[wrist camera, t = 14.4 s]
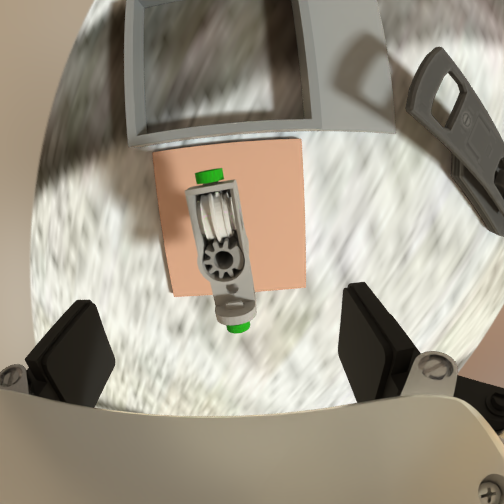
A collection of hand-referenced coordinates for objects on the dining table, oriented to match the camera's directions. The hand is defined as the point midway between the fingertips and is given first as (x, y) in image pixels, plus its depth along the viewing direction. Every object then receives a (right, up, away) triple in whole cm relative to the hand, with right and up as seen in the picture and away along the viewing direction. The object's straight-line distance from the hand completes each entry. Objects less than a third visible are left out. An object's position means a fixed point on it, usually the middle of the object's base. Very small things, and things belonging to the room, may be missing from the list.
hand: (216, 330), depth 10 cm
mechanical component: (-1, +6, +16) cm, 17 cm away
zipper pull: (+25, +13, +15) cm, 32 cm away
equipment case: (+2, +21, +11) cm, 24 cm away
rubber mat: (0, +6, +17) cm, 18 cm away
